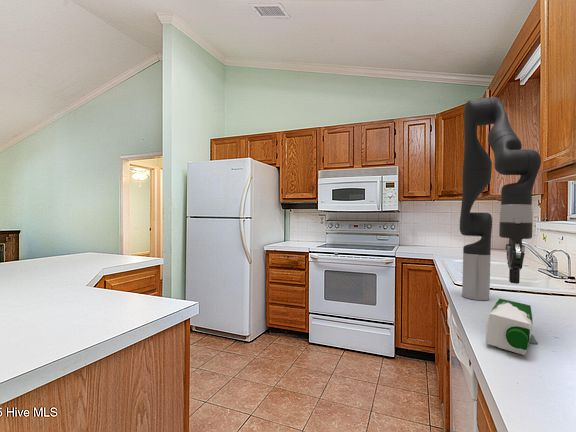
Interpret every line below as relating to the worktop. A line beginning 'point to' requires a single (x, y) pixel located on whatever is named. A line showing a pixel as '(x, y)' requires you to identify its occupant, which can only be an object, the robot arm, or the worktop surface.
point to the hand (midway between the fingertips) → (514, 282)
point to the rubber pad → (533, 340)
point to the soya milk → (509, 326)
